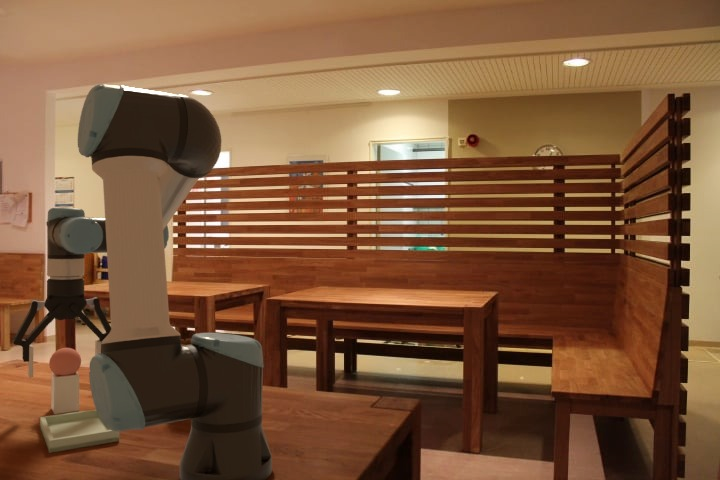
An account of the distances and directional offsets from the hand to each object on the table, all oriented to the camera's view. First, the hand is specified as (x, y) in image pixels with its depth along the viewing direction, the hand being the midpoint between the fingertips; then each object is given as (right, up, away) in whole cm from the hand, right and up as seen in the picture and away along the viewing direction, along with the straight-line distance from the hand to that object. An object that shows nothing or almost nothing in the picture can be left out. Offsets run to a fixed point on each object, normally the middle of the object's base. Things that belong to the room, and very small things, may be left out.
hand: (65, 372), depth 136 cm
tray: (+10, -9, -16) cm, 21 cm away
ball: (0, +2, 0) cm, 2 cm away
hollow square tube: (0, -8, 0) cm, 8 cm away
